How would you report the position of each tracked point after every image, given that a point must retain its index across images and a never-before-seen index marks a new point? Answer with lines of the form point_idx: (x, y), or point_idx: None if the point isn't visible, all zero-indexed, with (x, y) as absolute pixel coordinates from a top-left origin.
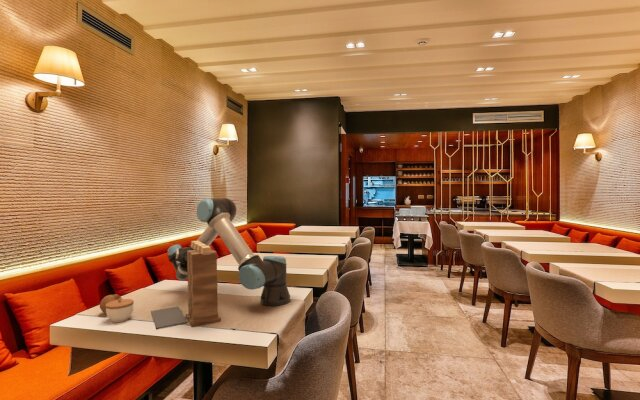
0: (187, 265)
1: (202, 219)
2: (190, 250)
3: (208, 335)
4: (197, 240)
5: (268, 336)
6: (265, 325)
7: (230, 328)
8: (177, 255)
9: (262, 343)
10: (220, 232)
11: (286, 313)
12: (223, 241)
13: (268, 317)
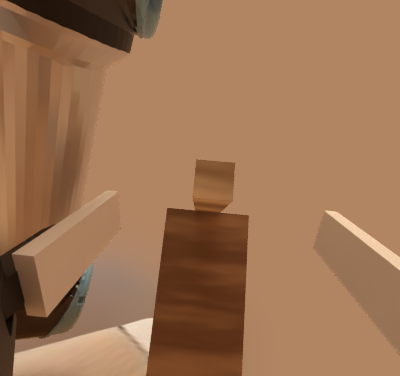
0: (245, 272)
1: (161, 6)
2: (236, 214)
3: None
4: (196, 160)
5: (133, 325)
6: (104, 345)
7: None
8: (336, 269)
9: (151, 320)
10: (95, 129)
11: (16, 360)
12: (75, 173)
13: (61, 365)
